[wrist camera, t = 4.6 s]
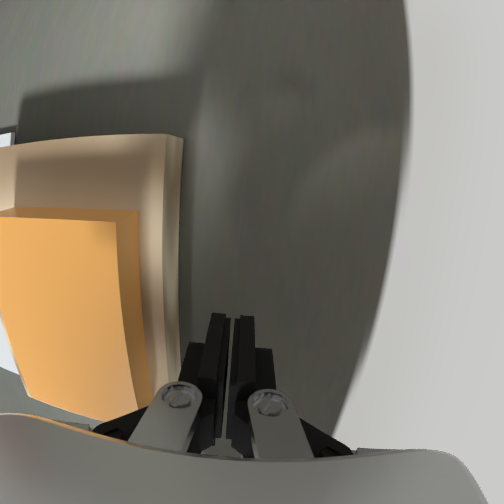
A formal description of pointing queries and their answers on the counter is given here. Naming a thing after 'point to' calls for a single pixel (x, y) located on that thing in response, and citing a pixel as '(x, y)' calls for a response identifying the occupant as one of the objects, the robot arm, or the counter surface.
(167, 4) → the counter surface
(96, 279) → the slab
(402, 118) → the counter surface
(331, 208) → the counter surface
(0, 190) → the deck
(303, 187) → the counter surface
